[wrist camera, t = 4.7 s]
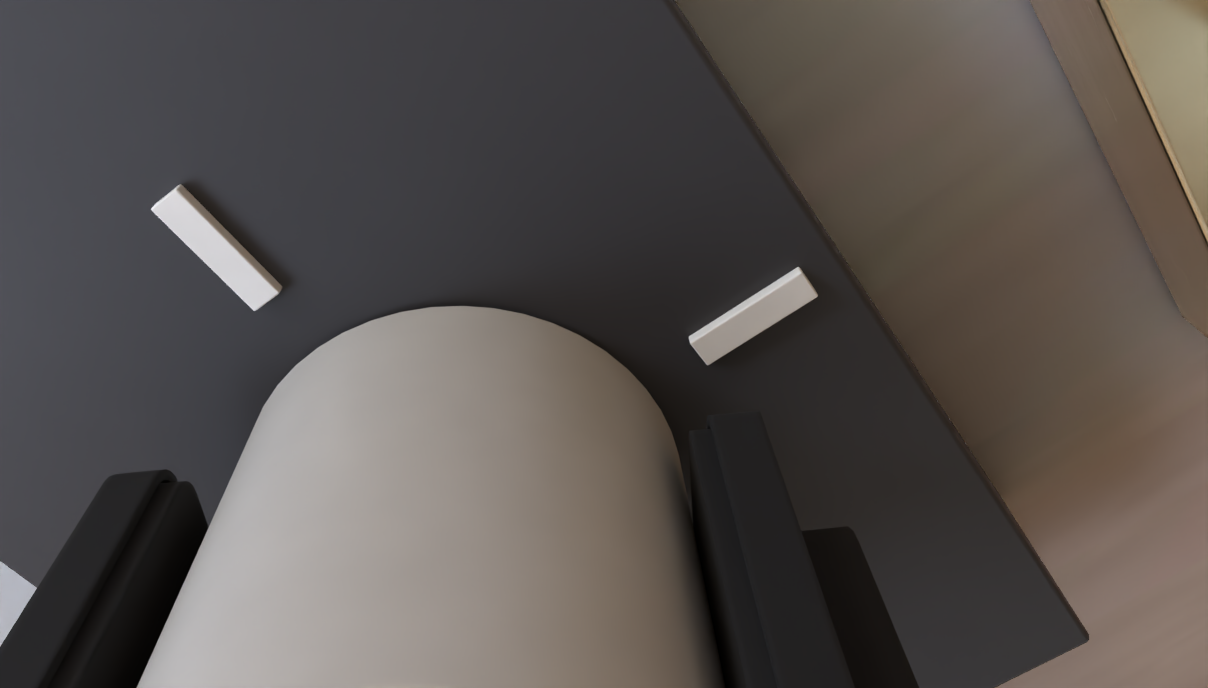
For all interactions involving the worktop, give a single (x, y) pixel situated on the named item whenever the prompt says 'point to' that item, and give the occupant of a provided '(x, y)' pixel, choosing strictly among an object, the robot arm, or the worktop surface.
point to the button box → (1147, 120)
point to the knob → (449, 523)
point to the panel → (454, 265)
